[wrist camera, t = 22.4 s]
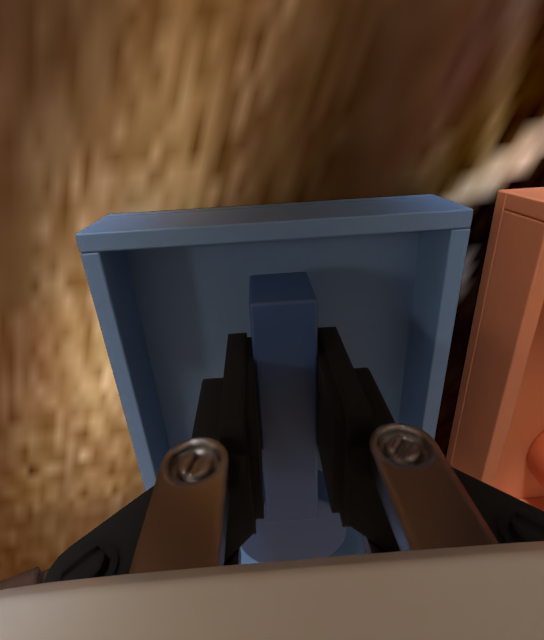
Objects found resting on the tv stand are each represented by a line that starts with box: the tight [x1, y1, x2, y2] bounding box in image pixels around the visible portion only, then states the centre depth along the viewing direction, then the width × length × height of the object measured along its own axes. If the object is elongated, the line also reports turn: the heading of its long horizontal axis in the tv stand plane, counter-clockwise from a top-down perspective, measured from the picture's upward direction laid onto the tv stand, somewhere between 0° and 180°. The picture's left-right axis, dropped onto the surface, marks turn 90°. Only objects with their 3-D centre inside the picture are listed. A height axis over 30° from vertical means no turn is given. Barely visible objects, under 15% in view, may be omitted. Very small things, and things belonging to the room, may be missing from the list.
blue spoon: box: [241, 272, 347, 563], centre depth 12 cm, size 11×4×2 cm, turn 3°
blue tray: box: [76, 194, 473, 564], centre depth 14 cm, size 14×10×2 cm
